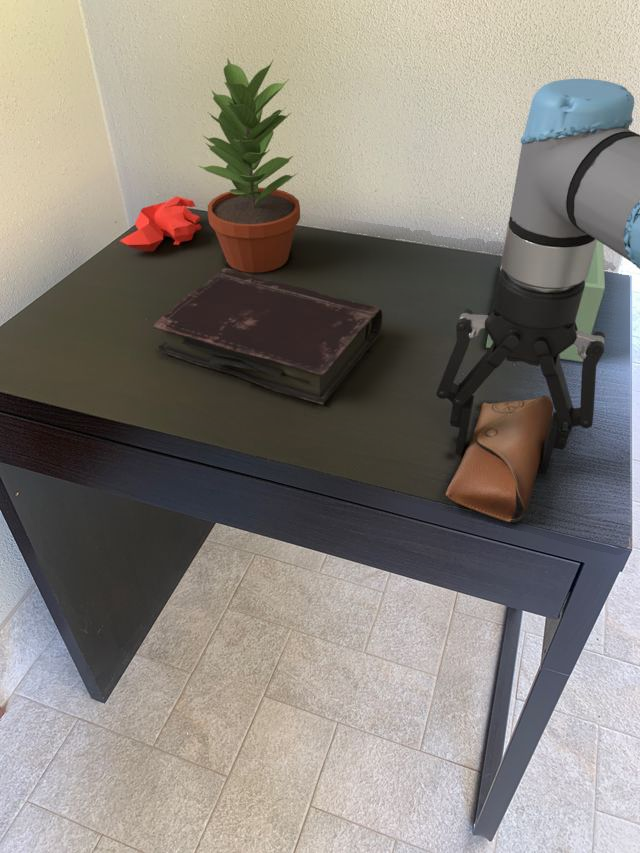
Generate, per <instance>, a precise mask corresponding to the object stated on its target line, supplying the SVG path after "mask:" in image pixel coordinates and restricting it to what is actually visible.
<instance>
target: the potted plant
mask: <svg viewBox="0 0 640 853" xmlns="http://www.w3.org/2000/svg"><path fill="white" fill-rule="evenodd" d="M226 60H227V61H226V62H227V65H225V66H224V67H223V76H224V78H225V81H223V83H224V85H225V86H226V88H227V90H228V91H229V94H230V95H226V94H218V93H216V92H214V91H213V90H212V89H210V91H211V92H212V94H213V98H212V99H213V101H214V103H215V104H216V105H217V106H218V108H219V109H220V113H219V114H218V117H216V116H214V115H212V114H211V113H210V112H208V114H209V115H210V117H211V118H212V119H213V120H214V121H216V122H217V123H218V124H219V127H220V129H221V130H222V132H223V134H224V136H225V138H226V140H227V141H228V142H227V141H226V140H224V139H221V138H219V137H209V138H208V137H206V136H205V135H201V136H202V137H203V138H205V139H206V140H207V141H208V142H210V143H211V144H212V145H211V144H209V143H207V142H205V145H206V146H208V148H209V150H210V152H212V153H213V154H214V155H216V156H217V157H218V158H219V159H220V160H222V161H223V162H225V163H226V167H223V166H218V165H207V166H205V167H204V166H201V165H198V167H199V168H201V169H203V170H204V171H205V172H208V173H211V174H213V175H216V176H218V177H221V178H224V179H227V180H229V181H231V182H232V184H233V186H234V188H232V189H229V191H227V192H223V193H221V194H219V195H217V196H216V197H213V199H211V201H210V202H209V203H208V205H207V218H208V224H209V225H210V226H211V228H212V229H213V230H214V232H215V235H216V237H217V240H218V243H219V245H220V247H221V249H222V253H223V256H224V257H225V260H226V262H227V264H228V265H229V266H230V267H231V268H232V269H234V270H235V271H239V272H242V273H252V274H255V273H258V274H259V273H266V272H271V271H274V270H277V269H279V268H281V267H283V266H284V265H285V264H286V263H287V261H288V259H289V257H290V253H291V248H292V245H293V244H292V243H293V240H294V235H295V231H296V226H297V225H298V224H299V221H300V219H301V205H300V201H299V199H298V198H297V197H296V196H295V195H294V194H291V193H289V192H287V191H285V190H281V189H279V188H281V187H282V186H284V184H286V183H288V182H289V181H291V179H293V178H294V177H295V176H296V175H297V173H295V174H293V175H290V174H285V175H282V176H280V177H278V178H277V179H275V180H274V181H272V182H271V183H269V184H268V185H267V186H265V187H259V185H260V184H261V183H262V182H264V181H265V180H267V179H268V178H270V177H271V176H272V175H273V174H274V173H276V172H278V171H279V170H280V169H281V168H283V167H285V166H286V165H287V164H289V163H290V160H291V159H292V158H293V157H294V155H292V156H290V157H288V158H286V157H283V156H282V157H281V156H279V157H278V156H276V157H274V158H272V159H270V160H268V161H267V162H264V163H263V164H262V165H261V166H259V165H260V163H261V161H262V159H263V158H264V156H266V155H267V154H268V153H269V152H270V151H271V149H268V146H269V144H270V142H271V140H272V138H273V136H274V130H275V129H277V127H278V126H279V125H280V124H281V123H283V122H284V121H285V120H286V119H287V118H288V117H289V116H290V115H291V114H292V111H291V112H290V113H288V114H287V115H283V114H281V113H282V112H283V111H284V110H285V109H286V106H285V107H284V108H283V109H282V110H281V109H277V110H275V111H274V112H273V113H271V114H270V115H269V116H267V117H265V118H264V119H263V120H262V121H261V119H262V114H263V110H264V108H265V106H266V105H267V104H268V103H269V102H271V100H272V99H273V98H274V97H275V96H277V94H278V93H279V92H280V91H281V90H282V89H283V88H284V86H285V85H286V83H288V82H289V80H290V78H288V79H287V80H286V81H284V82H283V83H282V82H281V83H280V82H274V83H271V84H270V85H268V86H266V88H264V89H263V91H261V92H259V89H260V88H261V86H262V84H263V82H264V80H265V78H266V76H267V74H268V72H269V71H270V68H271V66H272V65H273V62H274V58H273V59H272V60H271V62H270V63H269V64H268V65H266V67H264V68H262V69H260V70H259V71H258V72H256V74H255V75H253V77H252V78H251V80H250V82H249V80H248V78H247V75H246V73H245V71H244V69H243V68H242V67H241V66H239V65H236V64H234V63H232V62H231V61H230V59H229V57H226ZM267 149H268V150H267Z"/></svg>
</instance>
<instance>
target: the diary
mask: <svg viewBox="0 0 640 853" xmlns="http://www.w3.org/2000/svg"><path fill="white" fill-rule="evenodd" d="M382 325H383V312H382V308H381V307H380V306H379V307H378V306H375V305H371V304H366V303H361V302H358V301H352V300H348V299H344V298H340V297H335V296H331V295H328V294H324V293H321V292H317V291H315V290H310V289H307V288H304V287H302V286H301V287H300V286H297V285H292V284H289V283H285V282H284V283H283V282H280V281H279V282H278V281H275V280H270V279H265V278H261V277H258V276H254V275H251V274H248V273H245V272H242V271H239V270H235V269H230V268H227V267H224V268H223V269H221V271H219V272H217V274H215V275H214V276H213V277H212V278H210V279H209V280H208V281H207V282H205V283H204V284H202V285H201V286H199V287H198V288H196V289H195V290H193V291H192V292H190V293H189V294H188V295H186V297H185V298H183V299H182V300H180V301H179V302H178V303H177V304H175V305H174V306H173V307H172V308H171V309H170V310H168V311H167V313H165V314H164V315H163V316H161V318H160V319H158V320H157V321H156V323H155V324H154V325H153V326H152V328H153V329H155V330H159V331H161V332H164V335H165V341H166V342H165V343H164V344H162V345H158V346H157V349H158V350H160V351H161V352H163V353H165V354H167V355H168V356H169V355H170V356H172V357H175V358H178V359H181V360H182V361H186V362H188V363H191V364H194V365H197V366H201V367H204V368H208V369H211V370H214V371H218V372H223V373H226V374H229V375H233V376H236V377H239V378H240V379H244V380H245V381H248V382H251V383H253V384H256V385H258V386H261V387H263V388H266V389H269V390H271V391H273V392H276V393H279V394H283V395H287V396H290V397H294V398H297V399H301V400H305V401H309V402H311V403H312V402H313V403H316V404H319V405H322V406H324V404H326V402H327V401H328V400H329V399H330V397H331V396H332V394H333V393H334V392H335V391H336V390H337V389H338V387H339V386H340V385H341V383H342V382H343V381H344V379H345V378H346V377H347V376H348V375H349V374H350V372H351V371H352V370H353V368H354V367H355V366H356V365H357V363H358V362H360V360H361V359H362V357H364V354H366V352H367V351H368V350H369V348H370V347H371V346H372V345H373V343H374V342H375V341H376V340H377V338H378V337H379V336H380V334H381V330H382Z"/></svg>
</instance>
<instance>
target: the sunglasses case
mask: <svg viewBox="0 0 640 853" xmlns="http://www.w3.org/2000/svg"><path fill="white" fill-rule="evenodd" d="M553 411H554V405H553V401H552V398H551V397H549V396H547V395H545V394H544V395H540V396H539V397H537V398H531V399H521V400H511V401H510V400H509V401H502V402H493V403H489V402H483V403H482V404H481V407H480V411H479V414H478V419H477V422H476V425H475V427H474V430H473V432H472V435H471V438H470V439H469V442H468V445H467V447H466V450H465V452H464V454H463V456H462V459H461V462H460V463H459V465H458V467H457V470H456V472H455V473H454V476H453V478H452V479H451V481H450V483H449V485H448V487H447V489H446V491H445V497H446V498H447V499H448V500H449V501H451V502H452V503H454V504H456V505H459V506H461V507H463V508H466V509H469V510H471V511H474V512H476V513H479V514H481V515H485V516H487V517H490V518H494V519H497V520H499V521H503V522H506V523H517V522H519V521H521V520H523V519H524V518H525V516H526V514H527V510H528V507H529V504H530V499H531V497H532V492H533V489H534V485H535V482H536V479H537V474H538V472H539V467H540V461H541V456H542V452H543V449H544V445H545V442H546V438H547V434H548V431H549V427H550V424H551V420H552V416H553V413H554V412H553Z"/></svg>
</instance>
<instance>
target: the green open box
mask: <svg viewBox="0 0 640 853" xmlns="http://www.w3.org/2000/svg"><path fill="white" fill-rule="evenodd" d="M604 256H605V254H604V244H603V243H601V242H599V241H598V240H597V244H596V247H595V251H594V255H593V258H592V262H591V265H590V269H589V273H588V276H587V277H586V279H585V280H584V281H585V287H584V291H583V294H582V298H581V302H580V305H579V309H578V313H577V316H576V320H575V322H576V326H577V329H578V331H582V332H585V333H588V334H591V335H592V334H593V330H594V327H595V322H596V320H597V316H598V313H599V310H600V307H601V304H602V300H603V297H604V293H605V290H606V280H605V257H604ZM501 269H502V265H501V264H500V269H499V271H500V270H501ZM487 334H488V333H487ZM492 344H493V341H492V339H491V337H490V336H489V334H488V335H487V339H486V345H485V348H488V349H489V348H490V347H491V345H492ZM559 355H560V360H566V361H567V360H568V361H573V362H581V363H583V359H582V358H581V356H579V355H578V347H577V346H576V345H575V344H573V345H571V346H570V347H568V348H567V349H566V350H564V351H563V352H561V353H560V354H559Z"/></svg>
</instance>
